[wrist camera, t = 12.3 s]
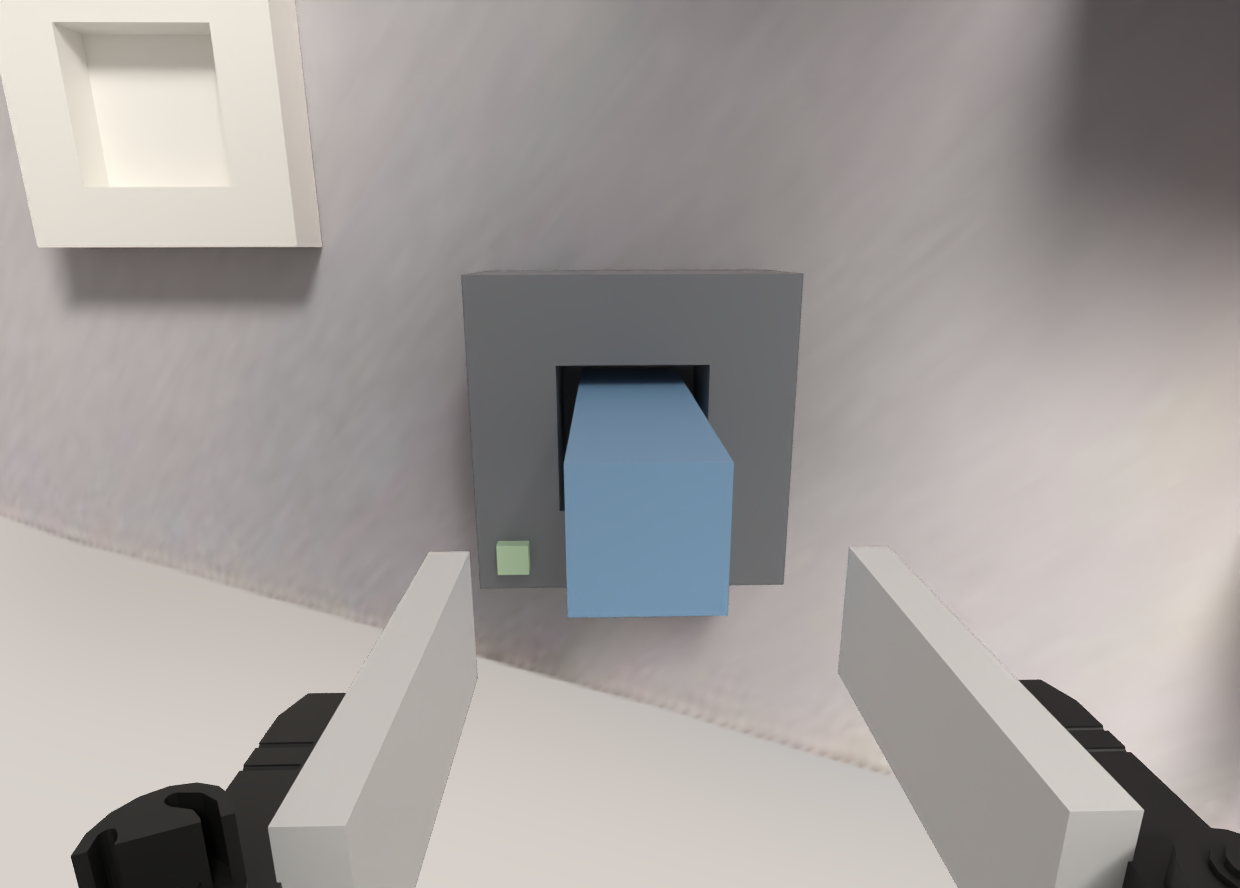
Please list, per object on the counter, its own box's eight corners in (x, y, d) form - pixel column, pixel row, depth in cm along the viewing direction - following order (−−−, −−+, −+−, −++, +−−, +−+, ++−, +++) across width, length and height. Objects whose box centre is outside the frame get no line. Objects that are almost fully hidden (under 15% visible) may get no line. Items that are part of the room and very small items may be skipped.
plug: (582, 368, 30) (563, 464, 16) (675, 368, 30) (733, 462, 16) (583, 458, 31) (567, 617, 17) (673, 457, 31) (727, 615, 18)
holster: (30, -22, 27) (-26, -49, 25) (292, -21, 27) (262, -48, 25) (83, 247, 30) (37, 247, 27) (322, 247, 30) (297, 246, 27)
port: (488, 270, 30) (458, 275, 24) (765, 269, 30) (807, 274, 24) (501, 530, 33) (478, 594, 27) (752, 527, 34) (786, 590, 27)
